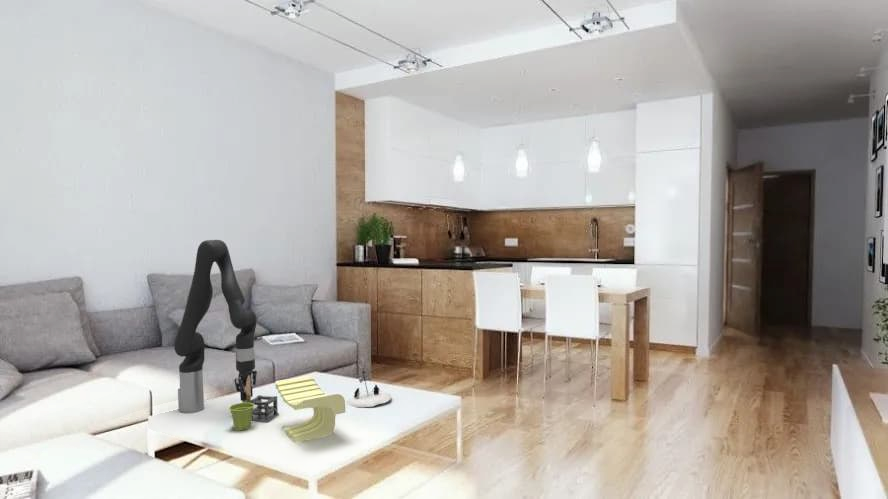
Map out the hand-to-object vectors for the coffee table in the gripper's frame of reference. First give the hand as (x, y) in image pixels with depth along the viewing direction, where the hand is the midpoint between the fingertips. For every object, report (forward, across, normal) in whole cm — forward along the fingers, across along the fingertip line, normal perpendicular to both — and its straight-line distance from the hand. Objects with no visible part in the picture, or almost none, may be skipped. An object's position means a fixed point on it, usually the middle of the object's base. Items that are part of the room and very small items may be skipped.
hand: (246, 398), depth 242 cm
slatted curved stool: (+7, +15, +35) cm, 39 cm away
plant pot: (+7, +15, +6) cm, 18 cm away
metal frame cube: (+7, +3, +9) cm, 12 cm away
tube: (+7, 0, 0) cm, 7 cm away
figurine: (+7, -25, +45) cm, 52 cm away
